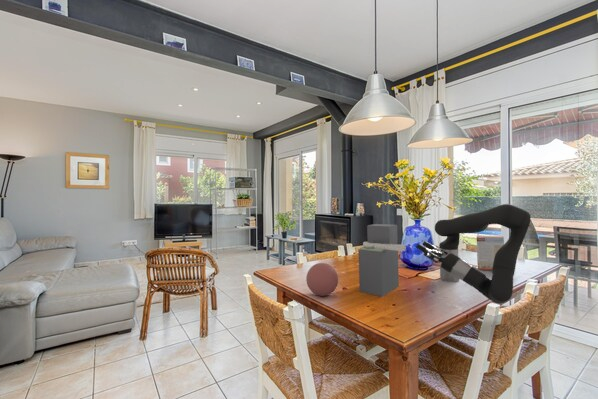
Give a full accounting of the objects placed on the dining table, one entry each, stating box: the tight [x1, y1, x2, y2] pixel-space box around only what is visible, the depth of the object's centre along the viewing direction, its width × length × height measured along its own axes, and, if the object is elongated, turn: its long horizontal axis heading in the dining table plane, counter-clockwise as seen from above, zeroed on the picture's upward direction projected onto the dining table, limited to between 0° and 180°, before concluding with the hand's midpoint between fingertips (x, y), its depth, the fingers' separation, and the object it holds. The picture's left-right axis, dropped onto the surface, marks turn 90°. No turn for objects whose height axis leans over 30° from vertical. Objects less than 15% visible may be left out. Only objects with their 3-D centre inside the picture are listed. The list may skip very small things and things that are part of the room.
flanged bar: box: [362, 241, 407, 252], centre depth 137 cm, size 6×21×2 cm, turn 50°
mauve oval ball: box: [305, 262, 339, 297], centre depth 139 cm, size 15×20×15 cm
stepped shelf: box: [357, 223, 400, 298], centre depth 144 cm, size 20×12×32 cm, turn 140°
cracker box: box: [476, 234, 505, 271], centre depth 175 cm, size 14×6×21 cm, turn 58°
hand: (420, 243), depth 126 cm, fingers open, 8 cm apart
